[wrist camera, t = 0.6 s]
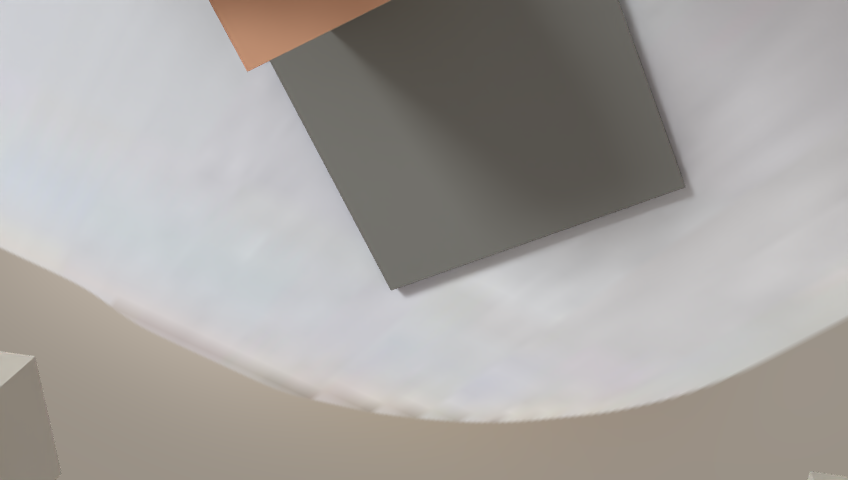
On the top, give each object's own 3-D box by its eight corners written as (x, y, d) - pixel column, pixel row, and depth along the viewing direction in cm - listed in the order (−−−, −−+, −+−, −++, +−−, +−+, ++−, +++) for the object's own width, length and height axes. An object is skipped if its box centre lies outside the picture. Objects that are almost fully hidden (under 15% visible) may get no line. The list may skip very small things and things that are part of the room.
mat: (161, -158, 33) (154, -159, 32) (484, -369, 27) (483, -375, 27) (393, 285, 40) (391, 290, 39) (683, 182, 35) (685, 187, 34)
